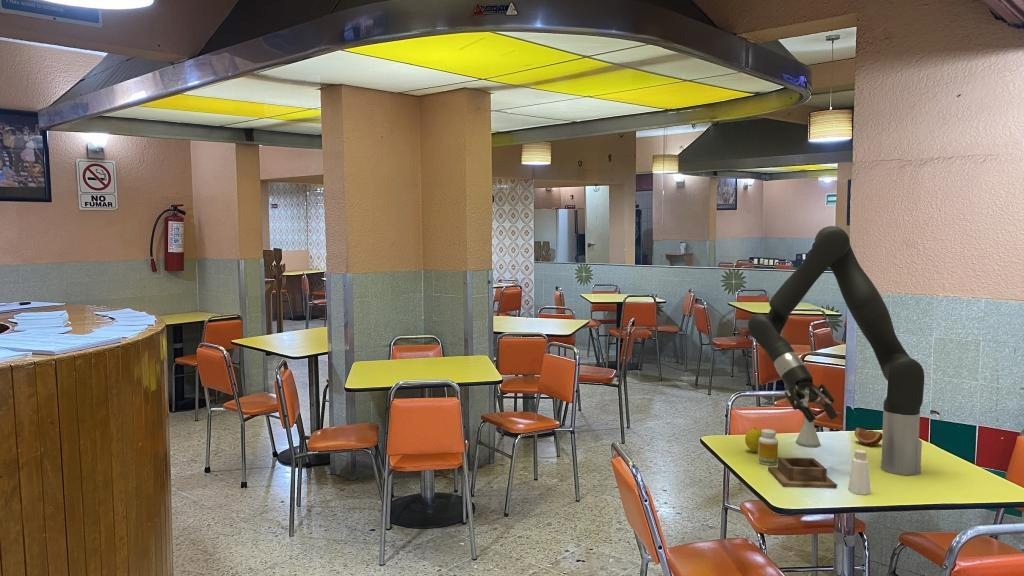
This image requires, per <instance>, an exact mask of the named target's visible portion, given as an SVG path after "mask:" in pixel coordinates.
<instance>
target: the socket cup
mask: <svg viewBox="0 0 1024 576" xmlns="http://www.w3.org/2000/svg"><path fill="white" fill-rule="evenodd" d="M767 471H768V472H769V473H770V474H771V475H772V477H773V478H775V479H776V481H777V480H778V481H779V482H780V483H779V482H778V481H777V482H778V483H779V484H780V485H781V486H782V487H783V488H814V489H819V488H820V489H837V488H838V484H837V483H836V482H835V481H834V480H833V479H831V478H830V477H829V476H828V475H827V474H828V473H827V471H828V469H827V468H826V467H825V466H824V465H822V464H821V463H820V462H819V461H818V460H816V458H814V457H793V456H792V457H787V456H778V458H777V466H767Z"/></svg>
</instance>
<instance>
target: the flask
mask: <svg viewBox="0 0 1024 576" xmlns="http://www.w3.org/2000/svg"><path fill="white" fill-rule="evenodd" d="M802 414H803V413H802ZM814 416H815V417H816V415H815V414H814ZM803 417H804V419H803V424H802V427H801V429H800V432H799V434H798V435H797V438H796V440H795V443H796V445H799V446H802V447H806V448H817V447H821V441H820V438H819V436H818V434H817V433H818V432H817V431H816V430H817V429H816V427H815V422H814V421H815V420H814V421H813V422H809V421H808V420H807V419H806V417H805V416H804V414H803Z"/></svg>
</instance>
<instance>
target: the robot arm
mask: <svg viewBox="0 0 1024 576" xmlns="http://www.w3.org/2000/svg"><path fill="white" fill-rule="evenodd" d="M813 243H814V244H813V246H812V247H811V249H810V250H809V253H808V254H807V256H806V257H805V259H804V260H803V261H802V262H801V264H799V266H798V268H796V270H795V271H793V273H791V275H790V276H789V277H788V278H787V279H786V280H785V281H784V282H783V284H782V285H781V286H780V287H779V288H778V290H777V291H776V292H775V293H774V295H773V296H771V298H770V300H769V303H768V304H769V305H768V306H769V307H770V309H769V311H768V313H767V314H765V313H764V314H763V313H755V314H753V315H751V317H749V319H748V322H747V323H748V324H747V327H748V331H749V334H750V335H751V337H753V339H754V340H755V341H756V343H758V345H759V346H760V347H761V348H762V349H763V350H764V351H765V352H766V354H767V356H768V358H769V359H770V360H771V363H772V364H773V365H774V368H775V370H776V372H777V374H778V375H779V377H780V379H781V380H782V381H783V383H784V385H785V386H786V388H787V390H785V392H784V396H785V397H786V399H787V400H788V402H789V404H790V405H791V407H792V409H793V410H795V411H797V410H798V411H799V412H801V413H802V414H804V415H803V417H804V416H805V417H806V419H807V420H808V421H809V422H813V421H815V420H816V415H815V414H814V413H813V411H812V410H811V408H810V406H809V404H808V403H814V404H815V405H818V406H820V407H822V408H823V410H824V411H825V413H826V414H827V416H828V418H829V419H830V420H835V419H836V418H837V417H838V414H837V412H836V411H835V408H834V407H833V406H832V404H833V403H834V402H835V398H834V397H833V396H832V395H831V393H830V392H829V391H828V389H827V388H826V386H825V385H824V384H822V383H821V384H820V385H819V386H817V385H815V384H814V383H813V381H814V380H813V379H814V378H813V375H812V373H811V372H810V371H809V369H808V368H807V366H806V365H805V363H804V362H803V360H802V359H801V358H800V357H799V355H798V354H797V353H796V351H795V350H794V349H793V347H792V345H791V344H790V343H789V341H788V340H787V339H786V338H784V337H783V336H781V335H780V334H781V333H782V331H783V330H784V328H785V326H786V323H787V322H788V320H789V318H790V315H791V314H792V313H793V311H794V310H795V309H796V307H797V306H798V305H799V304H800V303H801V301H802V300H803V299H804V298H805V296H806V295H807V293H808V292H809V291H810V289H812V287H813V286H814V284H815V283H816V281H818V279H819V278H820V277H821V276H822V275H823V274H824V273H825V271H826V270H827V269H829V268H830V270H831V272H832V273H833V275H834V277H835V280H836V282H837V285H838V288H839V291H840V293H841V295H842V298H843V300H844V303H845V305H846V307H847V309H848V311H849V312H850V315H851V316H852V318H853V319H854V322H855V323H856V325H857V326H858V328H859V329H860V332H861V333H862V334H863V336H864V337H865V339H866V340H867V342H868V343H869V345H870V347H871V348H872V350H873V352H874V355H875V357H876V359H877V361H878V364H879V367H880V370H881V373H882V374H883V377H884V378H885V380H886V381H887V390H886V397H885V399H884V401H883V406H882V407H883V412H882V432H881V433H882V440H881V455H880V456H881V457H880V458H881V460H880V468H881V469H882V470H883V471H885V472H888V473H891V474H894V475H895V474H896V475H901V476H903V475H904V476H913V475H917V474H921V472H922V448H923V441H922V440H921V439H919V438H920V418H921V407H922V405H923V402H924V400H923V399H924V390H925V370H924V367H923V366H922V364H921V363H919V361H918V360H916V359H914V358H912V357H911V356H910V355H909V354H908V352H907V351H906V350H905V348H904V347H903V345H902V343H901V341H900V340H899V338H898V336H897V334H896V331H895V329H894V324H893V321H892V318H891V314H890V311H889V309H888V307H887V305H886V303H885V301H884V300H883V297H882V296H881V294H880V292H879V291H878V289H877V288H876V286H875V284H874V283H873V281H872V280H871V279H870V277H869V276H868V275H867V273H866V272H865V271H864V269H863V268H862V267H861V265H860V264H859V261H858V260H857V257H856V255H855V253H854V251H853V248H852V246H851V240H850V237H849V235H848V232H846V231H845V230H844V229H843V228H841V227H838V226H836V225H835V226H834V225H828V226H825V227H823V228H821V229H819V231H818V232H817V233H816V235H815V238H814V242H813ZM814 415H815V416H814Z"/></svg>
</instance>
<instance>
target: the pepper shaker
mask: <svg viewBox="0 0 1024 576" xmlns="http://www.w3.org/2000/svg"><path fill="white" fill-rule="evenodd" d="M867 453H868V452H867V451H866V450H865V449H855V450H854V456H855V457H854V458H853V459H852V462H851V468H850V475H849V480H848V487H847V489H848V491H849V492H850V493H852V494H855V495H863V496H867V495H870V494H871V493H872V491H871V478H870V463H869V461H868V459H867Z"/></svg>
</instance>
